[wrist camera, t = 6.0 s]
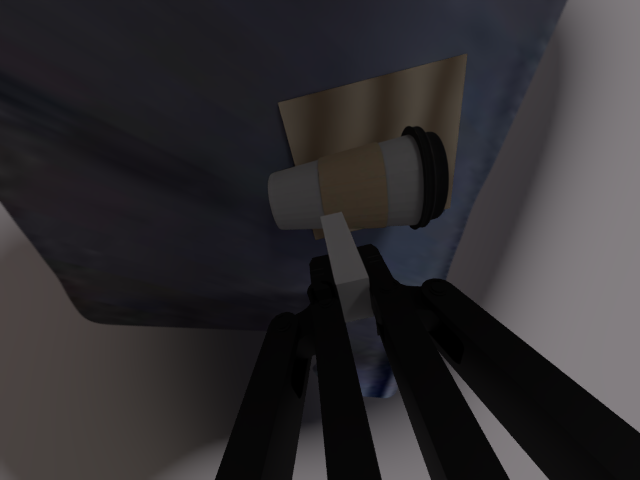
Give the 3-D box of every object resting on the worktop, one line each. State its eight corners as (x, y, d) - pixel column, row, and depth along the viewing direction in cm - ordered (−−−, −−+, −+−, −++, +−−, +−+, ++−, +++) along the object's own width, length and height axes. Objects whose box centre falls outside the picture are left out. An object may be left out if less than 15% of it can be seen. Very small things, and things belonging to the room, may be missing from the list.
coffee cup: (287, 264, 24) (438, 247, 22) (250, 191, 17) (466, 156, 15) (293, 206, 30) (411, 188, 28) (268, 135, 23) (423, 104, 21)
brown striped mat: (463, 54, 22) (467, 53, 21) (447, 206, 30) (449, 208, 30) (278, 102, 22) (277, 102, 22) (315, 237, 31) (315, 240, 30)
